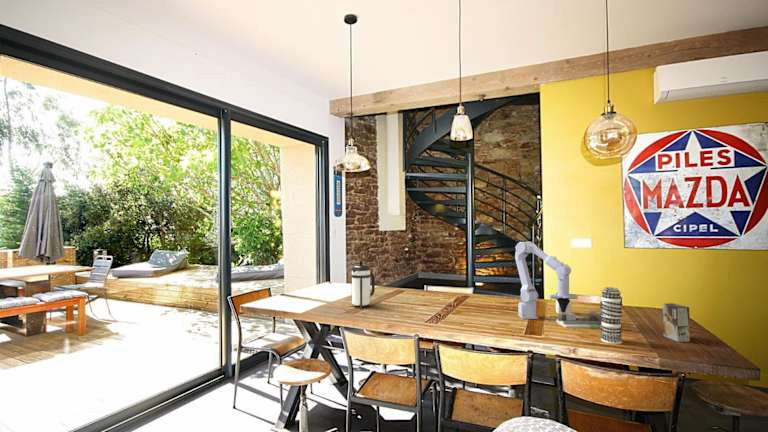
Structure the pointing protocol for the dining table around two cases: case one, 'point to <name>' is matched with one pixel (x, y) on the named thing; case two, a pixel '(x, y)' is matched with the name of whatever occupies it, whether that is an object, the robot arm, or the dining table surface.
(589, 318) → the marker
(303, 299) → the dining table surface
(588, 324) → the scale board
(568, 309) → the medicine bottle
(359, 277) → the coffee press
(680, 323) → the coffee box
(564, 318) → the plunger
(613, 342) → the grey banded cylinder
